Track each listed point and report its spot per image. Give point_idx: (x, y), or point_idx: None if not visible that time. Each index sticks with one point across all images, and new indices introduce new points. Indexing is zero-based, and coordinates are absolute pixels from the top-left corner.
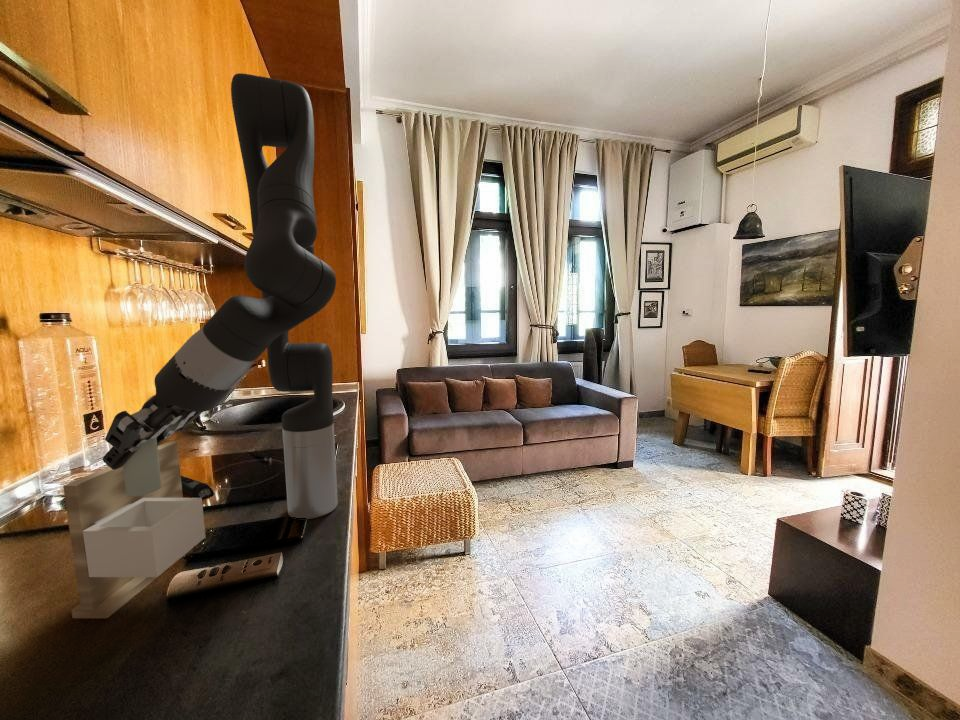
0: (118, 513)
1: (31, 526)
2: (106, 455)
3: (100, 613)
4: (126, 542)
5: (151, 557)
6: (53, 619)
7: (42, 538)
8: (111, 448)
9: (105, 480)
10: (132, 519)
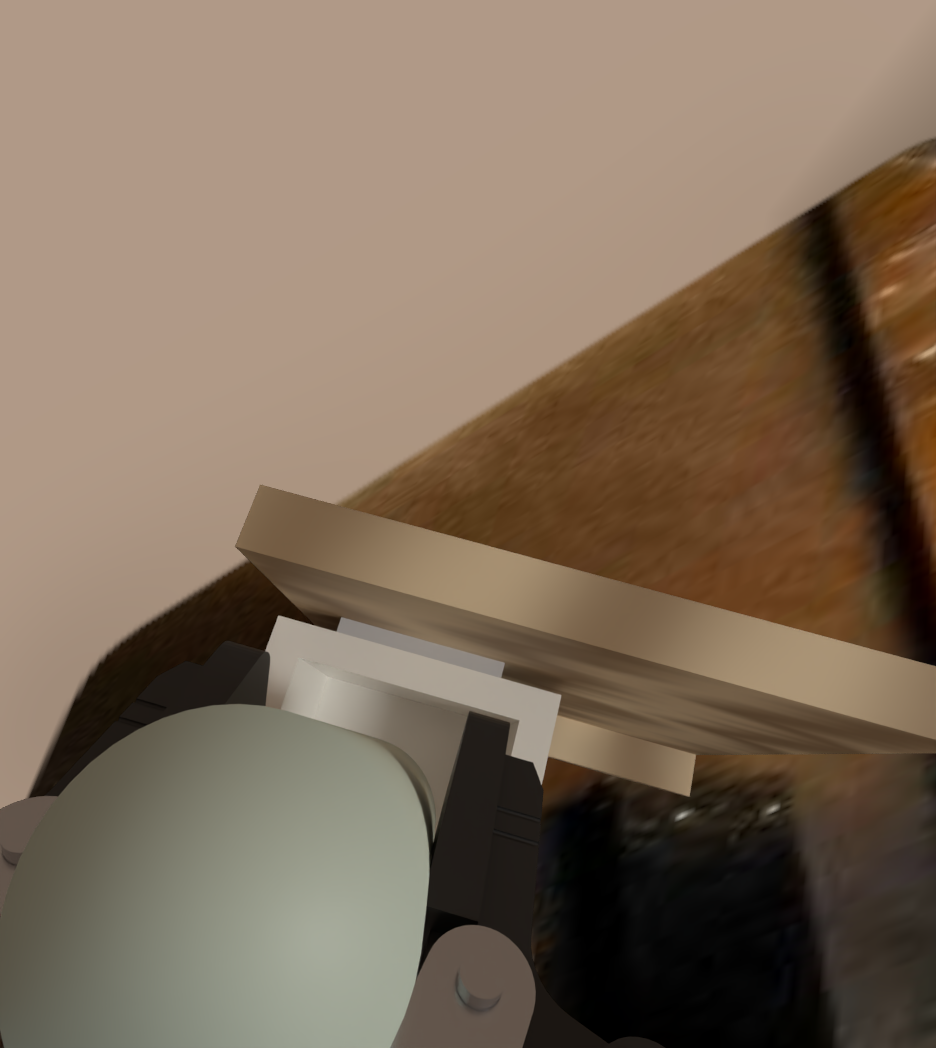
0: (407, 672)
1: (860, 225)
2: (138, 700)
3: None
4: None
5: None
6: None
7: (786, 294)
8: (162, 713)
9: (399, 602)
10: (450, 704)
